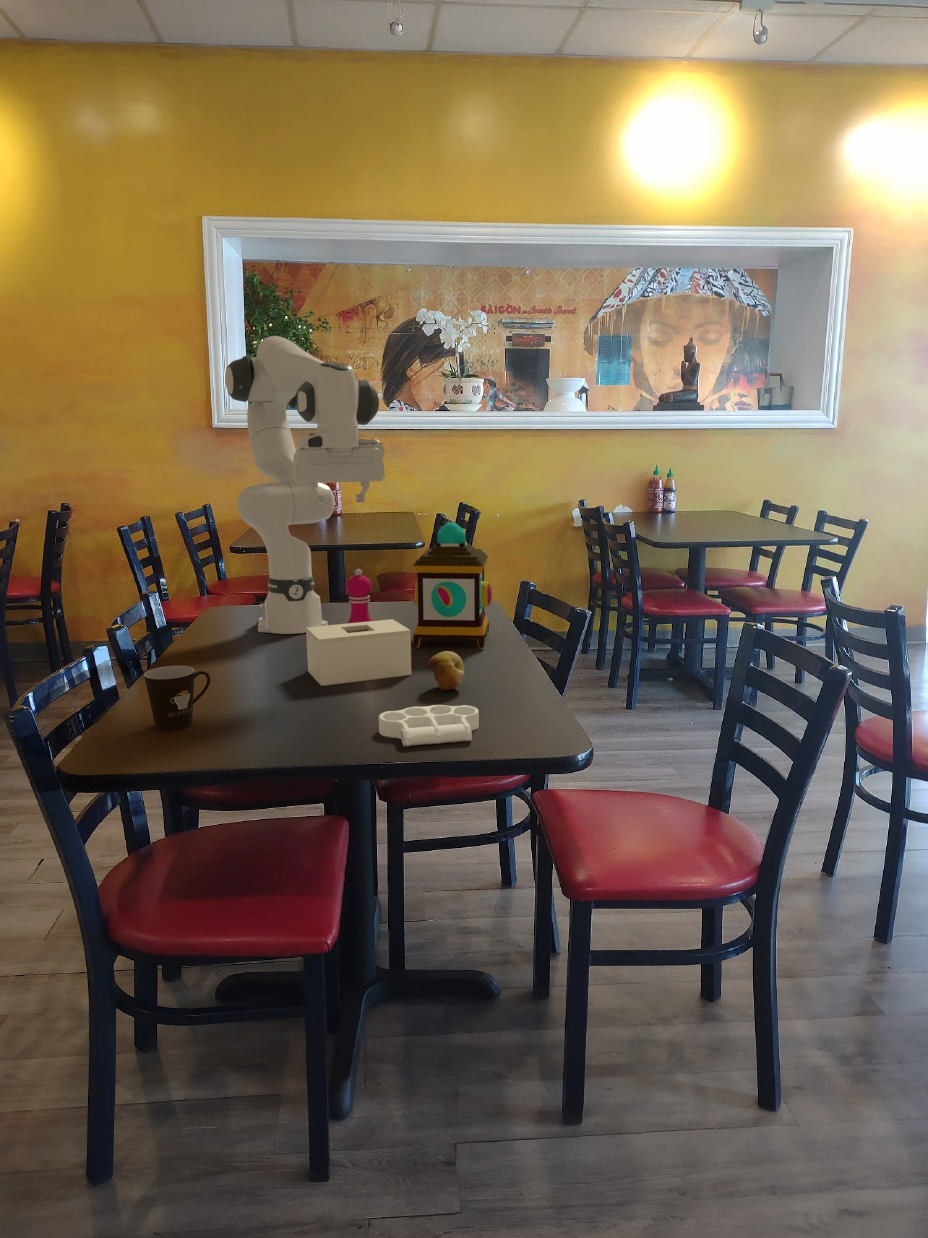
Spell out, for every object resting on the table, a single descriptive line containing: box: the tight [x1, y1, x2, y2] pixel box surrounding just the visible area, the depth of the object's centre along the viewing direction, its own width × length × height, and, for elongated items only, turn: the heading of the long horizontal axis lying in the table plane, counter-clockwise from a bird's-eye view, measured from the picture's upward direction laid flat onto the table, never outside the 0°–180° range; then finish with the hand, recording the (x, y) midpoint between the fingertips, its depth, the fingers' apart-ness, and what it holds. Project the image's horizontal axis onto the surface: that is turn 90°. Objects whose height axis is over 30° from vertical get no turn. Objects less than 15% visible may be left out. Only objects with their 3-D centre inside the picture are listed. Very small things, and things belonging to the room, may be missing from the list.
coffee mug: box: [143, 665, 211, 732], centre depth 156 cm, size 12×9×10 cm
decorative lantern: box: [411, 521, 493, 650], centre depth 214 cm, size 20×20×30 cm
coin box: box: [305, 618, 412, 687], centre depth 188 cm, size 12×20×10 cm, turn 113°
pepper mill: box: [345, 568, 373, 624], centre depth 206 cm, size 7×7×20 cm
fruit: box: [427, 650, 465, 691], centre depth 176 cm, size 8×8×8 cm
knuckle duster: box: [378, 704, 480, 748], centre depth 152 cm, size 3×18×15 cm
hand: (340, 502), depth 191 cm, fingers open, 8 cm apart
